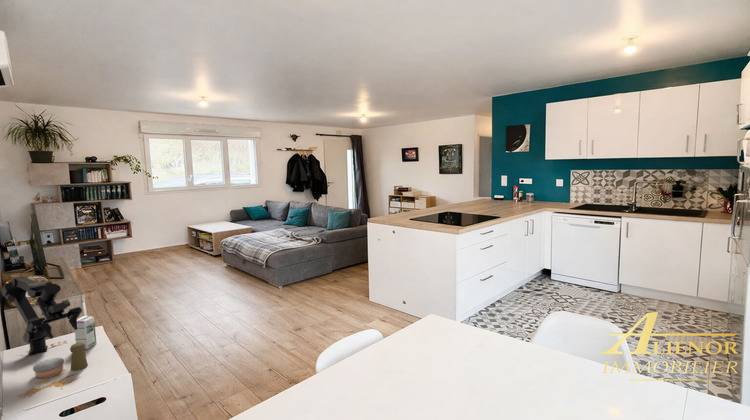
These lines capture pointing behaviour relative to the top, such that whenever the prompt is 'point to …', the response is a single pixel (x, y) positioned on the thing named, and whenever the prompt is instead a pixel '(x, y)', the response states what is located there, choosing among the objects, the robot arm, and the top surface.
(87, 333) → the syrup box
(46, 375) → the bowl
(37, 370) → the lid
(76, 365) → the cork
